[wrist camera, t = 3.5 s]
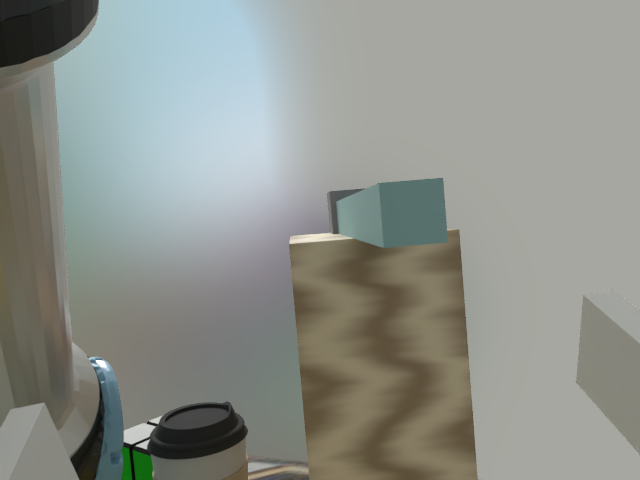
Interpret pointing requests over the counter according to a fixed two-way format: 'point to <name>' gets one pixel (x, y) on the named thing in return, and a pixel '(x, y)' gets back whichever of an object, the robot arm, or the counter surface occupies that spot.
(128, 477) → the puzzle cube
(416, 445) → the birch stand
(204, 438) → the coffee cup
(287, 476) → the counter surface
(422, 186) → the teal bar
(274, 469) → the counter surface
